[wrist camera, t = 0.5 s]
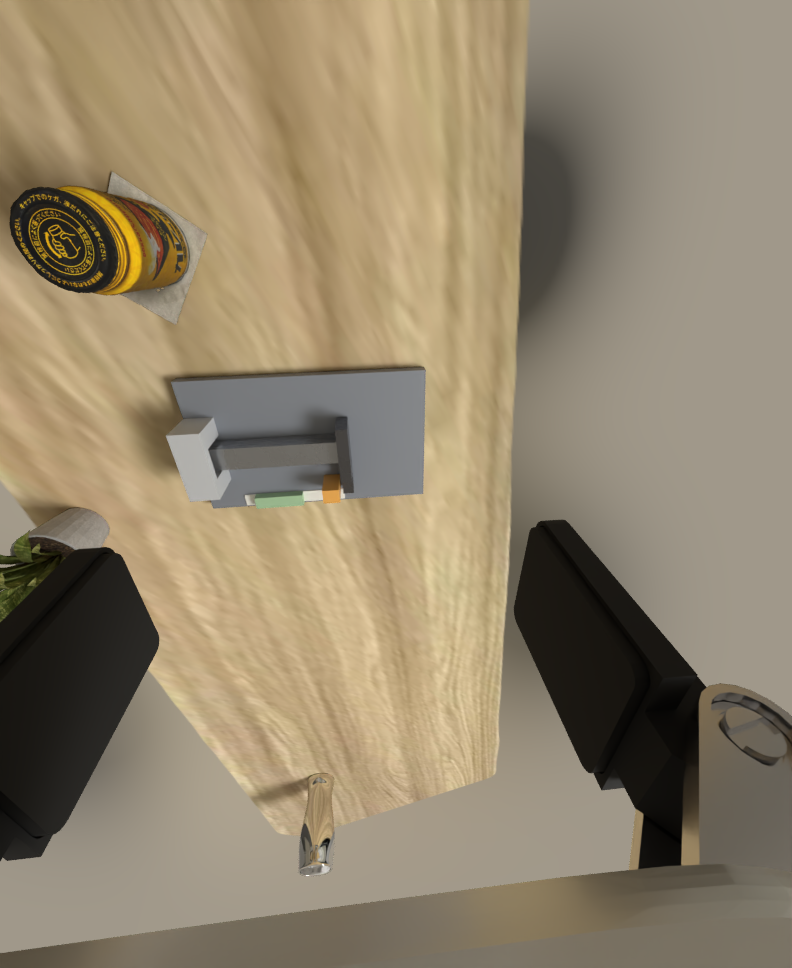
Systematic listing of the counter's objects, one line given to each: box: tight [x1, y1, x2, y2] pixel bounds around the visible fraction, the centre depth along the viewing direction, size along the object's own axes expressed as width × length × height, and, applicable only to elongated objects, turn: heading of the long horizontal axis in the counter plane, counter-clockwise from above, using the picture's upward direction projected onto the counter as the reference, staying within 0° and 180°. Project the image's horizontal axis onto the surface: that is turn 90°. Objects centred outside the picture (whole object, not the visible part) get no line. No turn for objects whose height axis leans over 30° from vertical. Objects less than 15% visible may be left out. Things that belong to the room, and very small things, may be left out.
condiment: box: [10, 172, 207, 325], centre depth 27 cm, size 7×8×12 cm
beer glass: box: [298, 773, 334, 876], centre depth 79 cm, size 7×7×15 cm
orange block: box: [322, 474, 341, 503], centre depth 42 cm, size 2×2×4 cm
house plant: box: [0, 508, 109, 622], centre depth 38 cm, size 14×14×16 cm
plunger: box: [208, 417, 354, 494], centre depth 40 cm, size 9×15×4 cm, turn 91°
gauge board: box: [166, 367, 426, 509], centre depth 40 cm, size 15×25×5 cm, turn 91°
